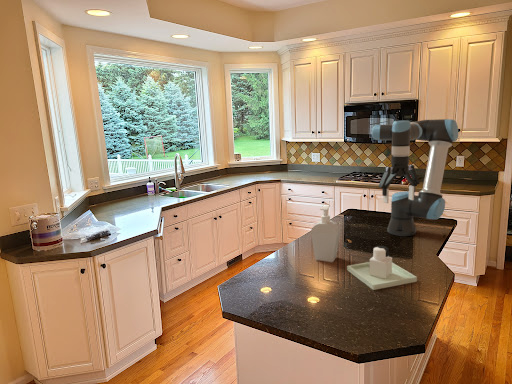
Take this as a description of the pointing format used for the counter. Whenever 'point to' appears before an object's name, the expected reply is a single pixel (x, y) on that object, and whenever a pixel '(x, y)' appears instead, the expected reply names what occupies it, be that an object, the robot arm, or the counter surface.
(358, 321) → the counter surface
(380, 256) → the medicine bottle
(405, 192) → the robot arm
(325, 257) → the soap bottle
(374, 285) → the tray
